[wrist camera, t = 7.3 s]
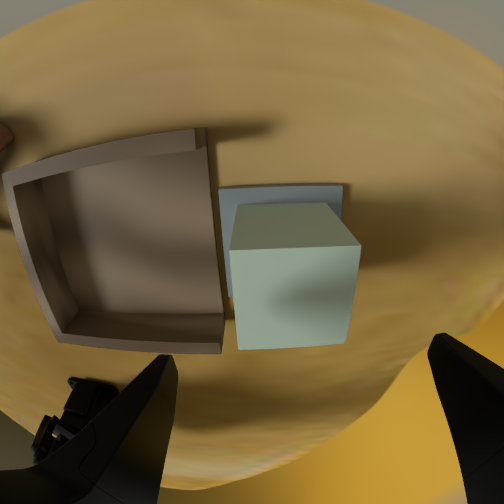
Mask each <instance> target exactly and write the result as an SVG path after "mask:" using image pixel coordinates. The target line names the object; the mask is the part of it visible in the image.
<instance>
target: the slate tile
mask: <svg viewBox="0 0 504 504" xmlns="http://www.w3.org/2000/svg"><path fill="white" fill-rule="evenodd" d="M218 193H219V204H220V216H221V227H222V238H223V248H224V259H225V269H226V278H227V288H228V297H233V289H232V278H231V267H230V255H229V248H230V242H231V237H232V231H233V226H234V220H235V214H236V209H237V205H250V204H278V203H326V204H327V205H328V206H329V207H330V208H331V209H332V211H333V212H334V213H335V214H336V215H337V216H338V218H339V219H340V220H341V216H342V197H343V186H342V185H341V184H279V185H252V186H232V187H219V189H218Z"/></svg>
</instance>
